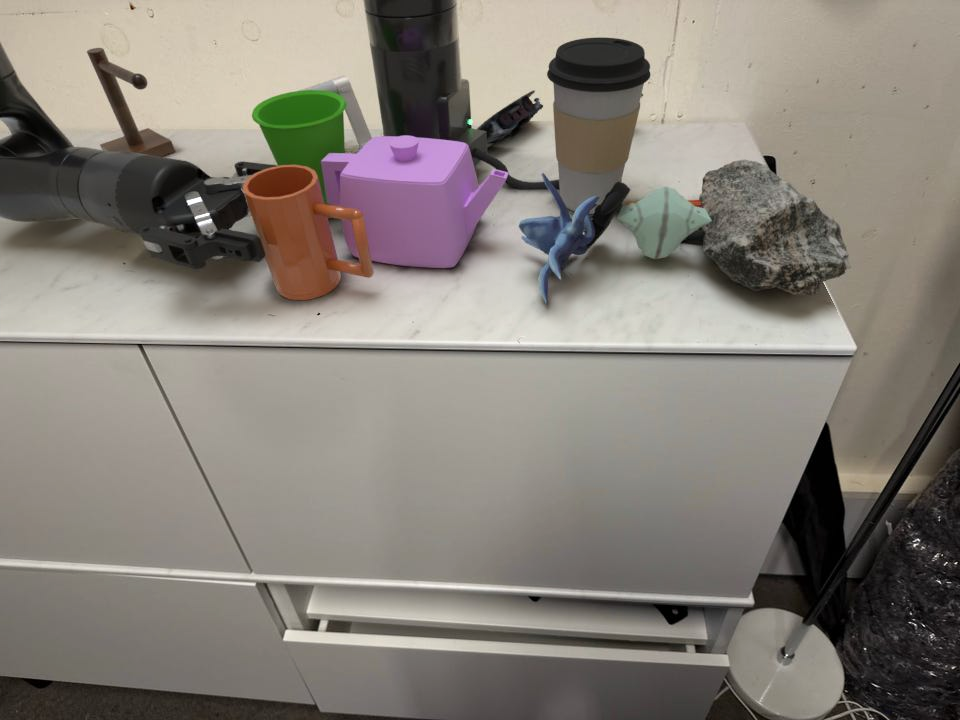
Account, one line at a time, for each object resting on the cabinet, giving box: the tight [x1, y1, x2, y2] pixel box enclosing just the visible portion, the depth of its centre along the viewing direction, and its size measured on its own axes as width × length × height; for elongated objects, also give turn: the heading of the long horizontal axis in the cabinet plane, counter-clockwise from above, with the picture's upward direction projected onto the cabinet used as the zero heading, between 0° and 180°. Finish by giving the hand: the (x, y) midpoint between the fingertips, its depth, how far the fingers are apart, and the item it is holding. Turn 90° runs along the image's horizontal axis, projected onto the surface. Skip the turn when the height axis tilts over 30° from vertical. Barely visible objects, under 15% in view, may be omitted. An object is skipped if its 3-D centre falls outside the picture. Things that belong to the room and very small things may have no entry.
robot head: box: [616, 186, 712, 260], centre depth 55 cm, size 8×4×7 cm, turn 82°
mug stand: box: [86, 47, 176, 157], centre depth 74 cm, size 14×6×12 cm, turn 47°
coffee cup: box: [546, 36, 651, 215], centre depth 61 cm, size 9×9×15 cm
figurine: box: [518, 172, 631, 305], centre depth 54 cm, size 10×12×8 cm
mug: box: [242, 165, 375, 301], centre depth 53 cm, size 10×6×10 cm, turn 68°
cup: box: [251, 90, 346, 220], centre depth 64 cm, size 9×9×11 cm
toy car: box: [476, 89, 544, 148], centre depth 78 cm, size 8×12×3 cm
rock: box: [698, 159, 852, 296], centre depth 55 cm, size 18×10×10 cm
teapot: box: [321, 135, 510, 269], centre depth 58 cm, size 18×10×10 cm, turn 75°
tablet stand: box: [298, 75, 373, 154], centre depth 73 cm, size 9×8×8 cm
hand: (291, 223), depth 53 cm, fingers open, 8 cm apart
